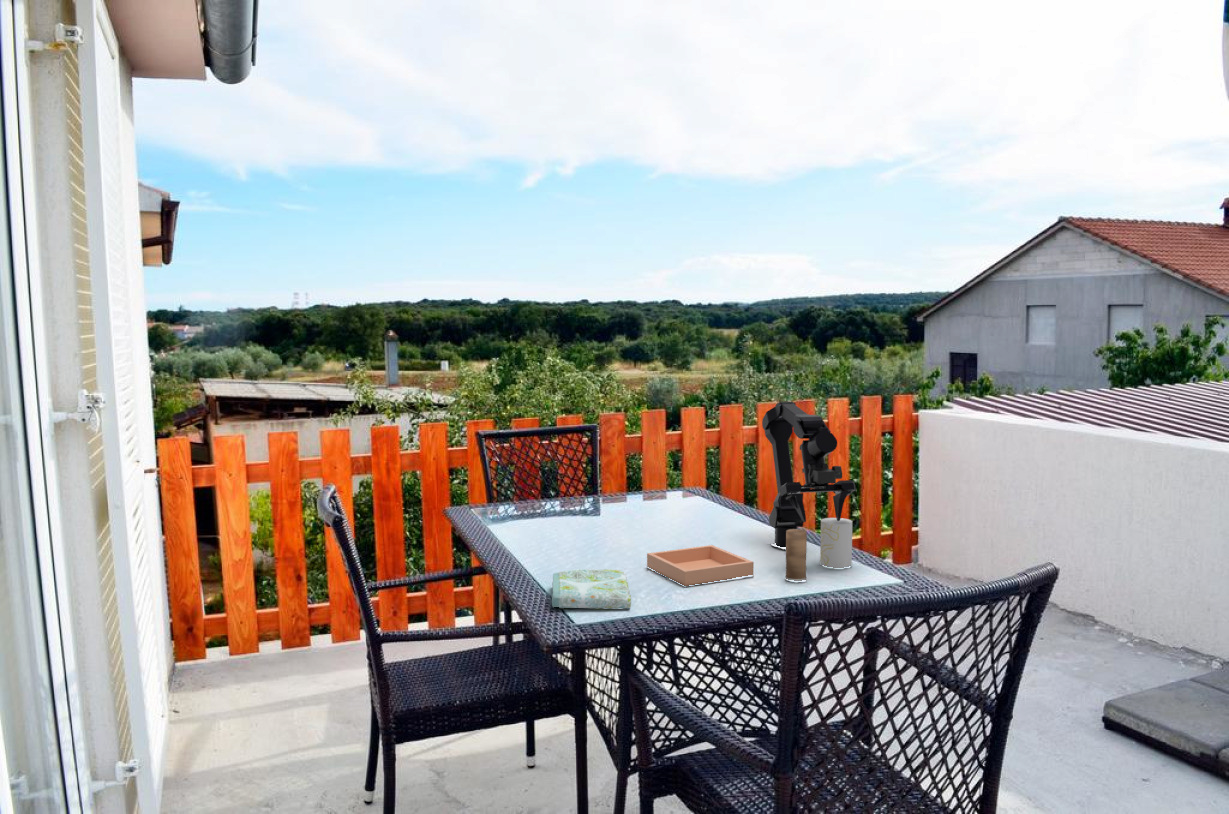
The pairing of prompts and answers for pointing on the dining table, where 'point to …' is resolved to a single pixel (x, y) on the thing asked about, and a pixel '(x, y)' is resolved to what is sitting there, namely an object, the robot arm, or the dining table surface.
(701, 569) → the bin
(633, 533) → the dining table surface
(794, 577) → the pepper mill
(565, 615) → the dining table surface
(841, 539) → the light grey cylinder
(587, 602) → the towel
